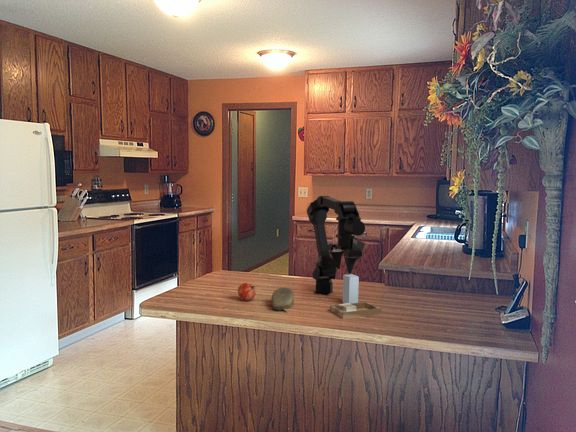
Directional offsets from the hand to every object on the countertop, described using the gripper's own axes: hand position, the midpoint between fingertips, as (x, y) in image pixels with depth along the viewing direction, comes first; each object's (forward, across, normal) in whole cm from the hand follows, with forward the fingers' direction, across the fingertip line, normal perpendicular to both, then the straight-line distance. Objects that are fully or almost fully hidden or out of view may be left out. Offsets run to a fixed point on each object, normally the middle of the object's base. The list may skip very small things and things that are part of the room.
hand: (343, 271), depth 192 cm
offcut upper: (+10, -16, +7) cm, 21 cm away
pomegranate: (+13, +16, +36) cm, 42 cm away
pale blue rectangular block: (+13, -6, 0) cm, 14 cm away
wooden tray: (+13, -16, +4) cm, 21 cm away
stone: (+13, +3, +25) cm, 29 cm away
